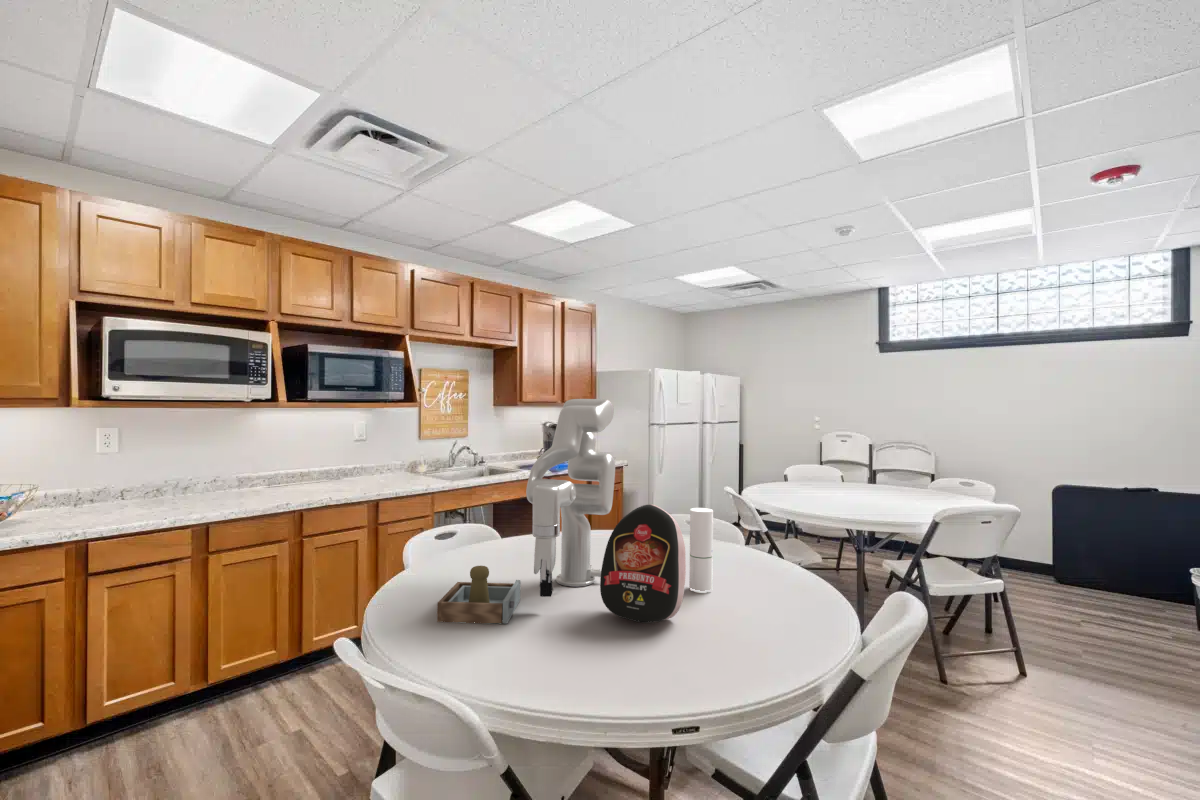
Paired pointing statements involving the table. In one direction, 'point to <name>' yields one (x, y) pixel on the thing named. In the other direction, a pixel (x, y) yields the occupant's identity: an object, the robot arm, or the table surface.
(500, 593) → the tray
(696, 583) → the cylindrical container
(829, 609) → the table surface
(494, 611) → the frame
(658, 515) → the packaged food
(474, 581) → the cork
